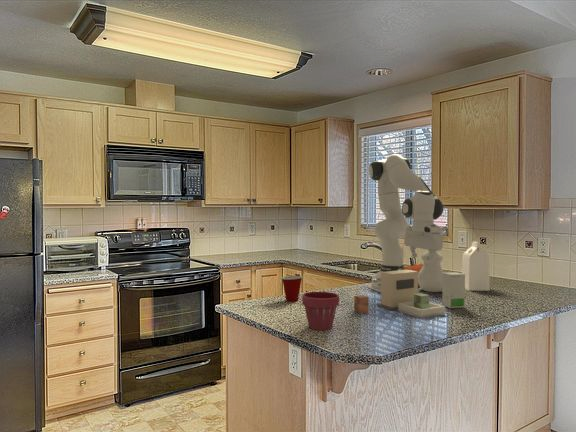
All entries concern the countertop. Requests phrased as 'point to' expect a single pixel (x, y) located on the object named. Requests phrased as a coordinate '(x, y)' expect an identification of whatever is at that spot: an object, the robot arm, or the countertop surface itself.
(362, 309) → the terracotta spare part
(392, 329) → the countertop surface
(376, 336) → the countertop surface
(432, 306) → the parts tray
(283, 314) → the countertop surface
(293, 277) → the plastic cup
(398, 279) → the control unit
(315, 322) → the plant pot
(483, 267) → the milk
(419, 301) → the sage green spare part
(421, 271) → the soap bottle
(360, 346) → the countertop surface
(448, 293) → the skincare box
